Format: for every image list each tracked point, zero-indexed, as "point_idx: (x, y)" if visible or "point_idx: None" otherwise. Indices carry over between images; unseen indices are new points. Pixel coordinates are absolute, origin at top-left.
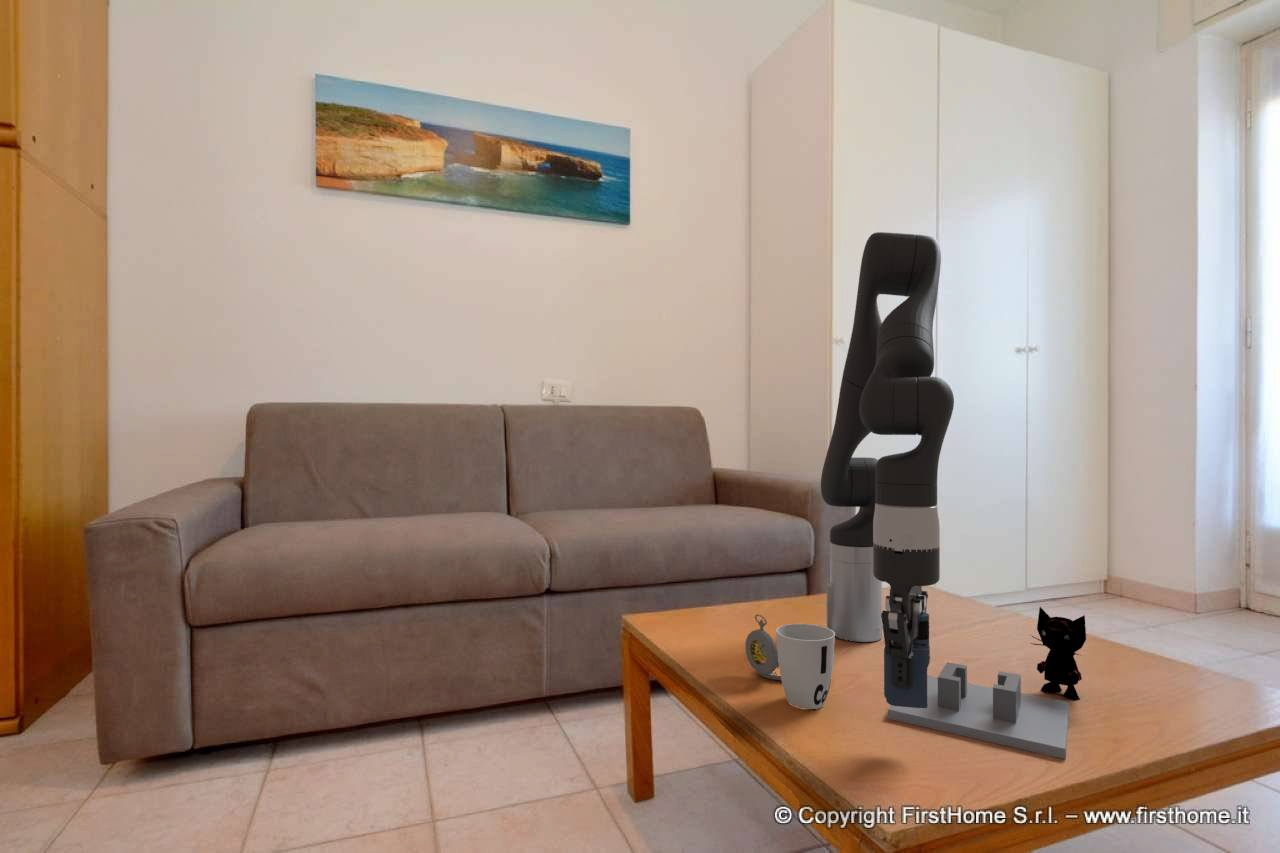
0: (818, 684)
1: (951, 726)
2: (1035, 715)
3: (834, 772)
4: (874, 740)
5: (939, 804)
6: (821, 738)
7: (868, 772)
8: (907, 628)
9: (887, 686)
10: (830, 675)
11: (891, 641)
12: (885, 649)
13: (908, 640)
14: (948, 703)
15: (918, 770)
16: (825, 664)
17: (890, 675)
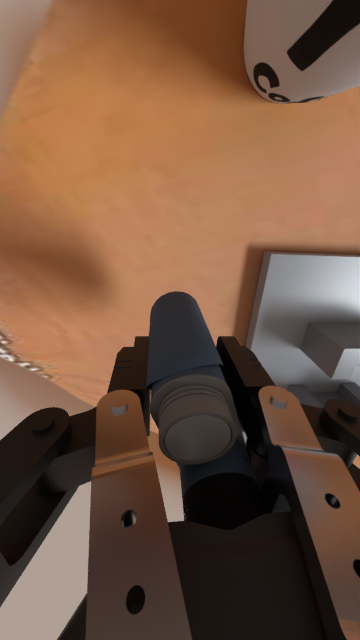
0: (269, 64)
1: (249, 345)
2: None
3: (2, 216)
4: (165, 249)
5: (33, 360)
6: (116, 150)
7: (47, 267)
8: (264, 487)
9: (154, 314)
10: (320, 91)
11: (37, 475)
12: (32, 423)
13: (33, 549)
14: (309, 340)
15: (105, 325)
16: (317, 54)
17: (149, 337)
